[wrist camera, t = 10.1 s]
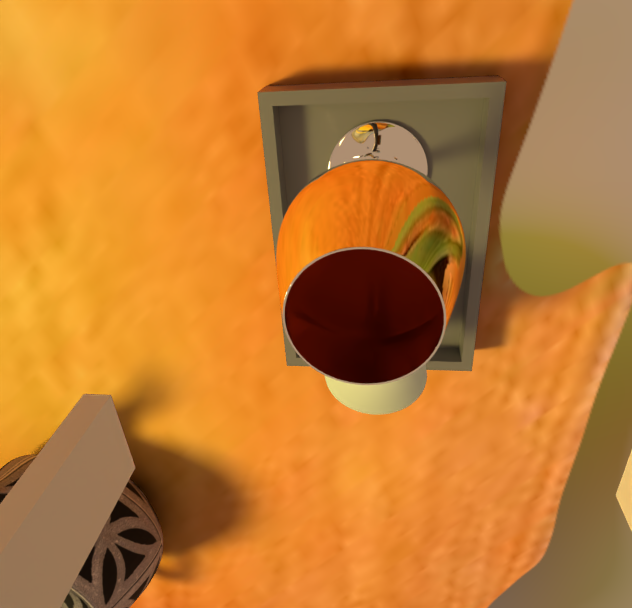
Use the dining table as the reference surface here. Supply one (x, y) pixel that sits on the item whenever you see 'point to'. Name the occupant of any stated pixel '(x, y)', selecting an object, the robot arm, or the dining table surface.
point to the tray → (441, 152)
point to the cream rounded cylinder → (380, 393)
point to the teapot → (110, 548)
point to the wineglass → (370, 260)
